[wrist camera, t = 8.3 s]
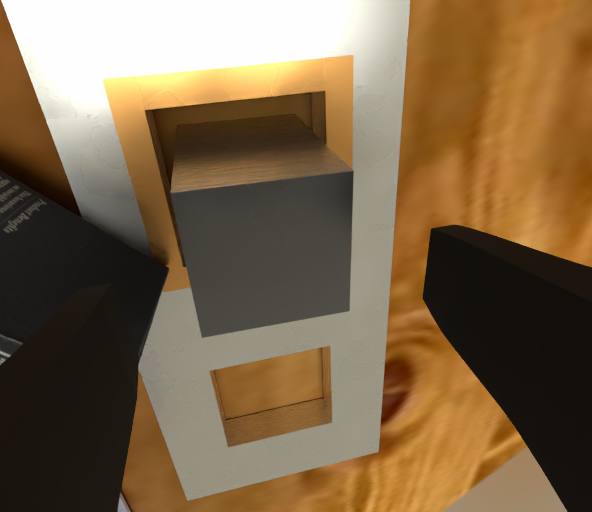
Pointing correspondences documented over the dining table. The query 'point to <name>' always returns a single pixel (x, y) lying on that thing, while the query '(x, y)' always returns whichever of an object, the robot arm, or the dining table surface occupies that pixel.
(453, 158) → the dining table surface
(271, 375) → the dining table surface
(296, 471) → the rail plate
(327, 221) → the post
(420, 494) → the dining table surface
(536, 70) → the dining table surface
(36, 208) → the small box
